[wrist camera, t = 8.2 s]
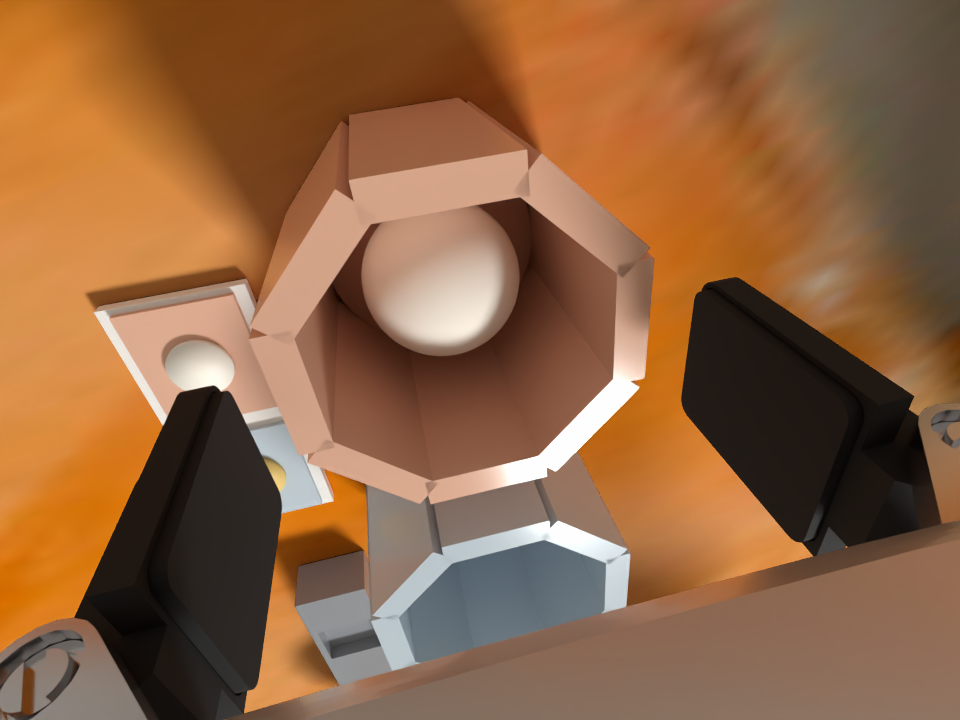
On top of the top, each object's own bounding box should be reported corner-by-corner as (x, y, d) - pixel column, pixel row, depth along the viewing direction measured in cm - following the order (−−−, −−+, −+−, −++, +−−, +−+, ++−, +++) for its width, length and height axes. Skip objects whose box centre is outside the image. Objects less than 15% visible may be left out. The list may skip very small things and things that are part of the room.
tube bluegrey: (556, 365, 21) (634, 499, 15) (561, 502, 25) (622, 645, 20) (349, 410, 20) (348, 570, 14) (393, 544, 25) (407, 705, 19)
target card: (246, 278, 16) (242, 289, 16) (333, 493, 22) (333, 508, 21) (98, 306, 16) (88, 318, 15) (226, 518, 22) (222, 534, 21)
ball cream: (492, 166, 16) (534, 212, 12) (505, 297, 18) (542, 368, 14) (343, 192, 15) (340, 247, 11) (378, 323, 18) (384, 402, 14)
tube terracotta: (545, 83, 15) (664, 125, 9) (554, 326, 20) (638, 454, 14) (255, 129, 14) (191, 207, 8) (336, 372, 19) (330, 528, 13)
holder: (363, 550, 24) (364, 588, 23) (423, 703, 33) (427, 739, 32) (298, 566, 24) (294, 606, 22) (376, 716, 33) (378, 753, 31)
